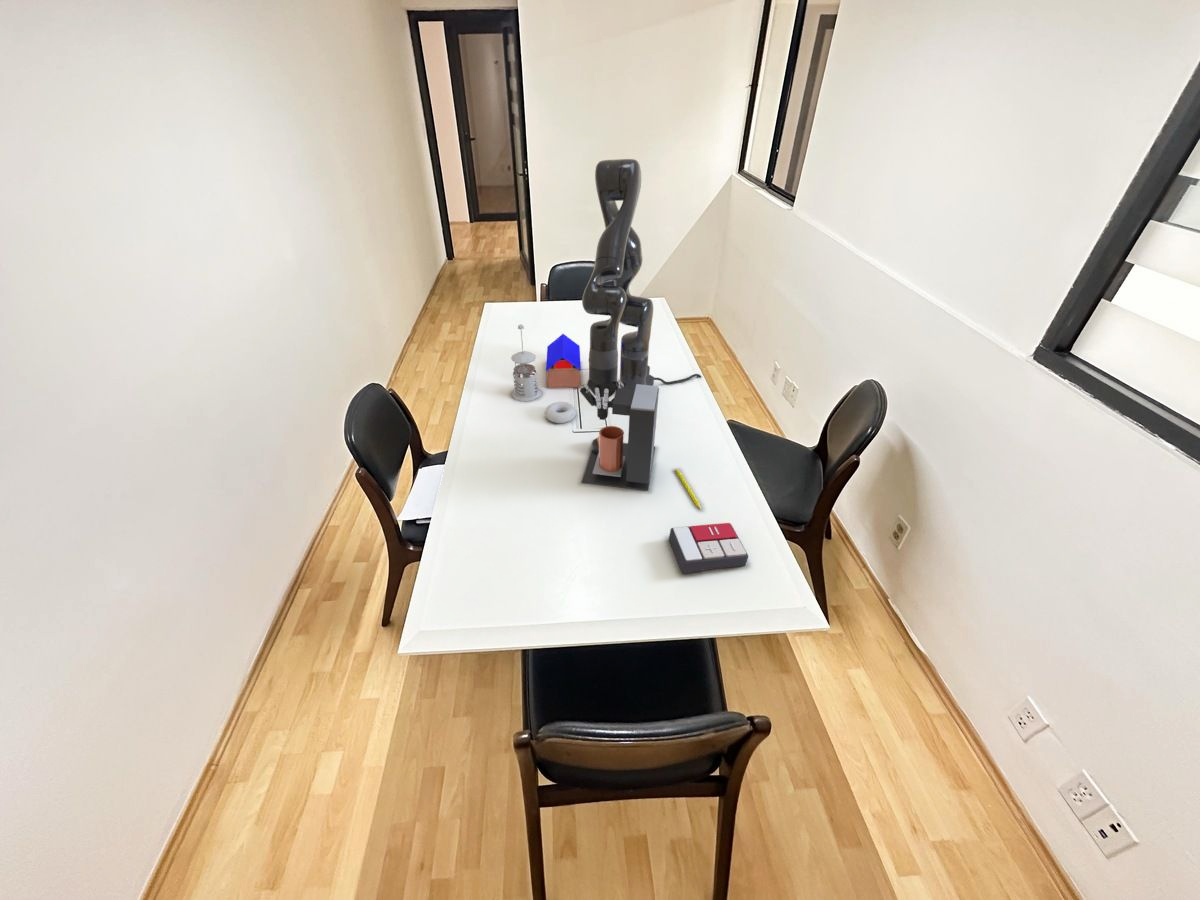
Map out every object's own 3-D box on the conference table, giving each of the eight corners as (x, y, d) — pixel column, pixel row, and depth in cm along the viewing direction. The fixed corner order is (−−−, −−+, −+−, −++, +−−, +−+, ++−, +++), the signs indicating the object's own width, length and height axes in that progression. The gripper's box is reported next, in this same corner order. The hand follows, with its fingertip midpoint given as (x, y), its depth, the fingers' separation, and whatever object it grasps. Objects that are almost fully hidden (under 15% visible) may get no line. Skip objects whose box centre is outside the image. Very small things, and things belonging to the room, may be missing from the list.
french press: (517, 403, 174) (511, 333, 160) (506, 388, 183) (498, 320, 168) (545, 397, 178) (541, 327, 163) (532, 382, 186) (527, 314, 172)
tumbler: (613, 454, 147) (614, 423, 141) (627, 466, 142) (628, 434, 136) (594, 462, 144) (594, 430, 138) (608, 474, 139) (608, 442, 133)
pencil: (675, 471, 145) (675, 469, 145) (678, 471, 146) (678, 468, 145) (698, 511, 133) (699, 508, 132) (702, 510, 133) (702, 507, 132)
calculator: (750, 554, 116) (685, 560, 113) (745, 567, 118) (682, 574, 115) (731, 520, 124) (670, 525, 122) (727, 533, 127) (668, 538, 124)
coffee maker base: (581, 483, 141) (581, 475, 139) (594, 441, 157) (594, 434, 155) (648, 491, 138) (648, 483, 137) (655, 448, 154) (655, 440, 153)
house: (546, 388, 183) (545, 357, 176) (548, 362, 199) (546, 333, 192) (581, 387, 183) (580, 357, 177) (579, 362, 200) (579, 333, 193)
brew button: (596, 446, 151) (596, 441, 150) (598, 440, 153) (598, 434, 152) (607, 447, 150) (607, 442, 149) (609, 441, 153) (609, 435, 152)
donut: (541, 423, 165) (572, 426, 163) (540, 414, 163) (572, 417, 161) (550, 407, 173) (579, 410, 171) (549, 398, 171) (579, 401, 169)
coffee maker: (591, 477, 139) (591, 403, 126) (599, 451, 149) (600, 380, 135) (648, 484, 137) (654, 409, 124) (653, 457, 147) (659, 385, 133)
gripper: (630, 358, 139) (627, 413, 149) (581, 353, 141) (582, 409, 151) (626, 370, 133) (624, 428, 143) (575, 366, 135) (576, 423, 145)
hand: (602, 418), depth 147 cm, fingers closed
